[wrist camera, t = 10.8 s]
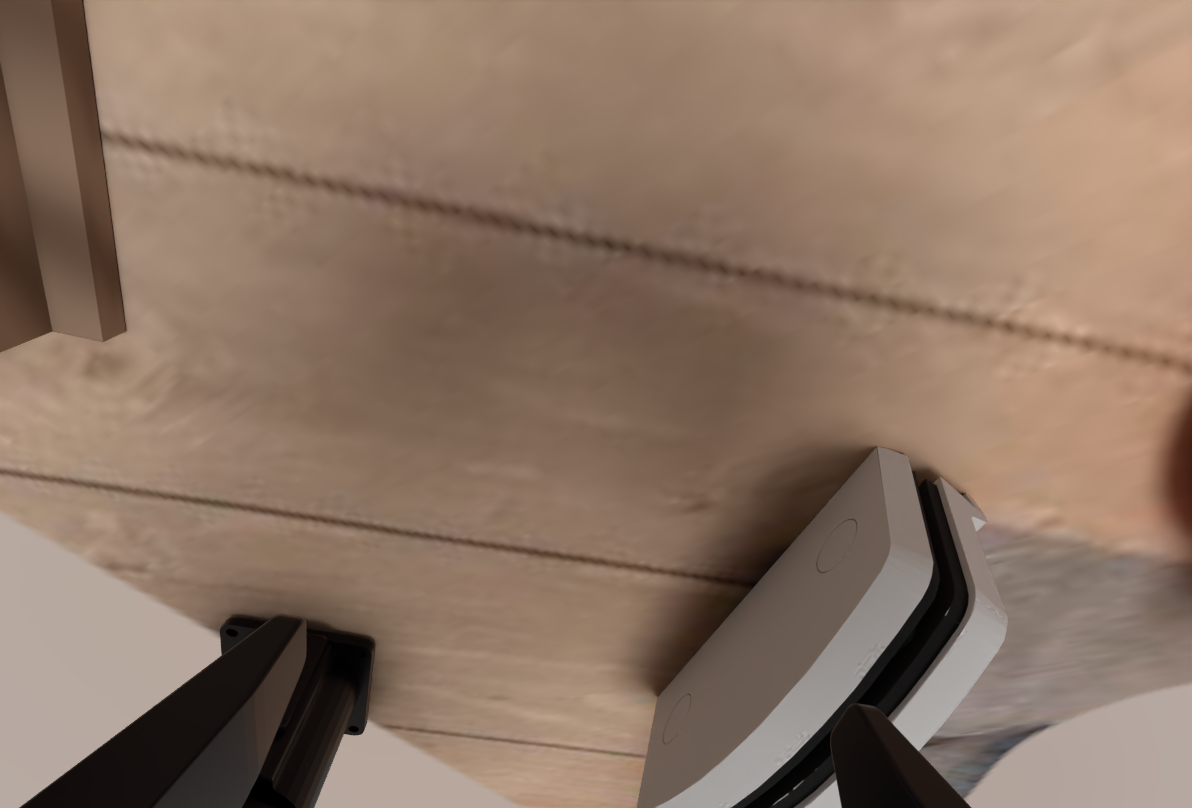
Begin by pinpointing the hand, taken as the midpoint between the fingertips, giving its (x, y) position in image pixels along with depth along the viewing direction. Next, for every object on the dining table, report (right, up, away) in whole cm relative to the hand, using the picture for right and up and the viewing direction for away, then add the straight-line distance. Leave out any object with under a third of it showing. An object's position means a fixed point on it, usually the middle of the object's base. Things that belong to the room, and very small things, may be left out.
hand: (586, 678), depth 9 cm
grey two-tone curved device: (+8, -4, +16) cm, 18 cm away
